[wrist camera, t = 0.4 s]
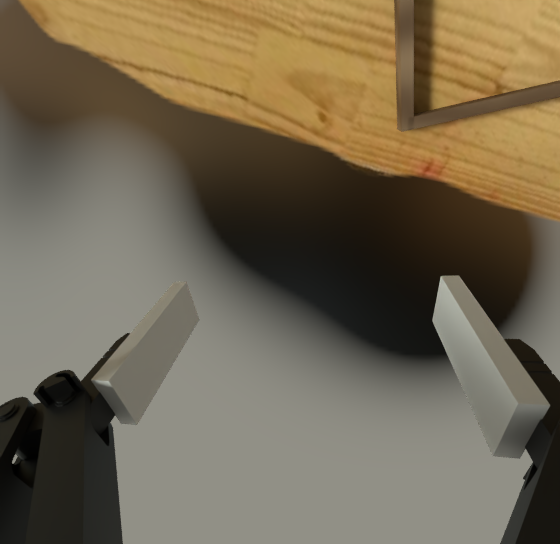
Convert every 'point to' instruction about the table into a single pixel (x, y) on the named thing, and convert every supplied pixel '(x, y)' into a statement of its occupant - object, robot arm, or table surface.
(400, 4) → the keyhole corral
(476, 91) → the table surface
